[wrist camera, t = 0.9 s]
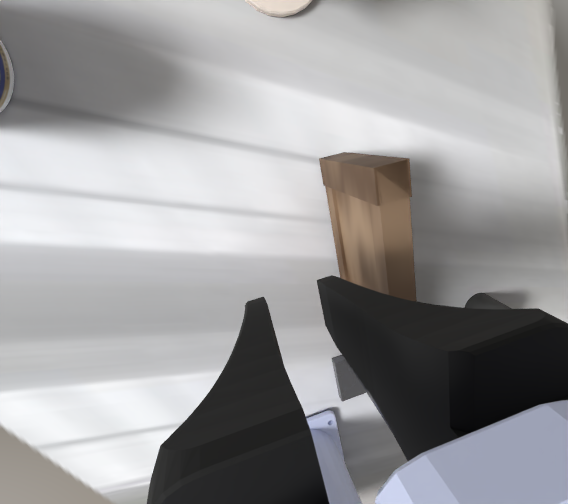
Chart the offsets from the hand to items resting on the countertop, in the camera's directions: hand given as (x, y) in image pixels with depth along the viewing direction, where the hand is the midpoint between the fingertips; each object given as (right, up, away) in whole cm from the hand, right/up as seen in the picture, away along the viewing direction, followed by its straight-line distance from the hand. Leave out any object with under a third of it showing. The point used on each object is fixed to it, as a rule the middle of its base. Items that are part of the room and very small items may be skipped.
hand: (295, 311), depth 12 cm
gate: (+4, +1, +10) cm, 11 cm away
